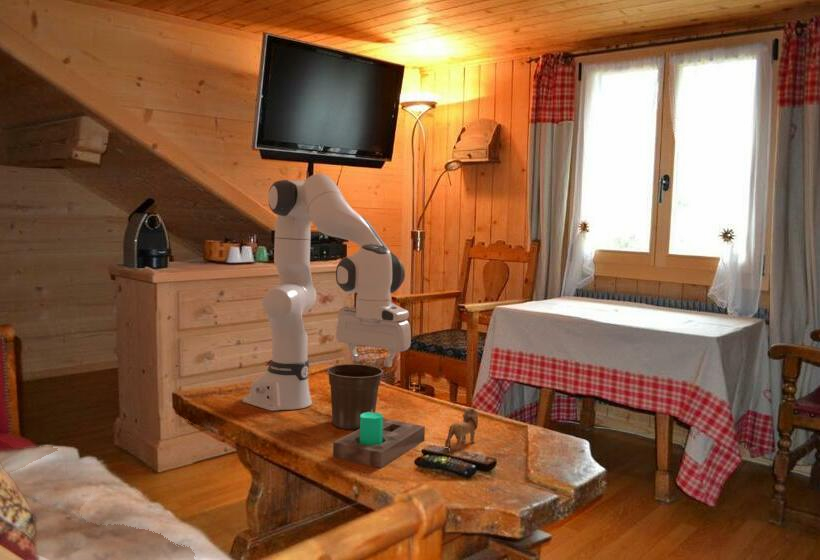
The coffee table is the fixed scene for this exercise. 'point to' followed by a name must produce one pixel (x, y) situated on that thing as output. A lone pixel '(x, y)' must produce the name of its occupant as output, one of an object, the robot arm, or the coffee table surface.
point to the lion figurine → (463, 428)
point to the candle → (371, 428)
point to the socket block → (393, 444)
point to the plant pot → (353, 393)
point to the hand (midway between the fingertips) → (371, 363)
